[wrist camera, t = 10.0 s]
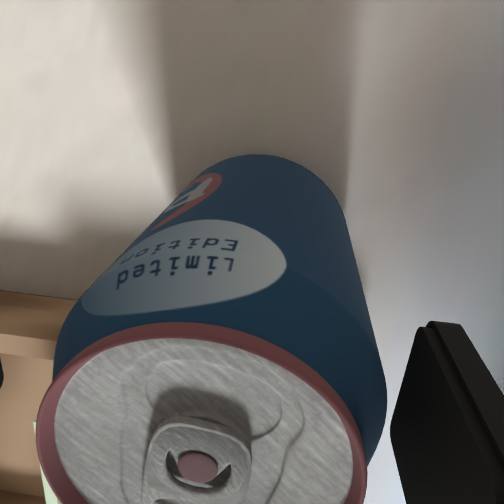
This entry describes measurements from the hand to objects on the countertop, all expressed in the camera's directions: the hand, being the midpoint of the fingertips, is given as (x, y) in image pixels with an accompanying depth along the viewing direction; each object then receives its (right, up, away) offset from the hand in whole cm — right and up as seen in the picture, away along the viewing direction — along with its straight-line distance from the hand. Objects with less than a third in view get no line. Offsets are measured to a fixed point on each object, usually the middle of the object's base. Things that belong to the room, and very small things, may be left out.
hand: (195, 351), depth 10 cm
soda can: (+2, +3, +9) cm, 10 cm away
